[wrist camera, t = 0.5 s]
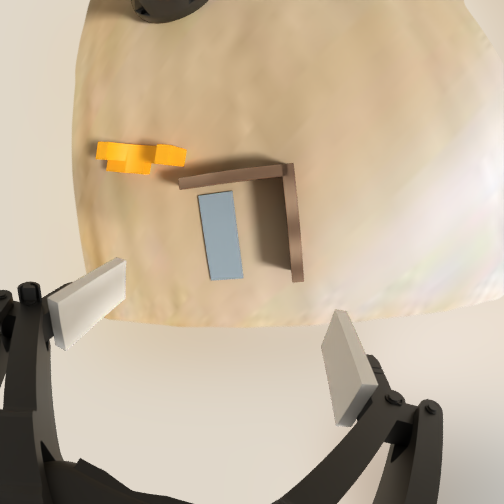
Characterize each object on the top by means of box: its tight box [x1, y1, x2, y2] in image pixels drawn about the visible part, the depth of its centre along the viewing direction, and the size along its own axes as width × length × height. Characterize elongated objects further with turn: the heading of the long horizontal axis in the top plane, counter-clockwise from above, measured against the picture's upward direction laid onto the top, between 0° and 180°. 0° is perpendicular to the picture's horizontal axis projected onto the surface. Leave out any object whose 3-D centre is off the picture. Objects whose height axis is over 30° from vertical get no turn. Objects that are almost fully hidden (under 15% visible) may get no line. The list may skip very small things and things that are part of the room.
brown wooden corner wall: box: [178, 163, 304, 282], centre depth 37 cm, size 15×15×5 cm
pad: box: [198, 191, 243, 280], centre depth 40 cm, size 13×5×1 cm, turn 7°
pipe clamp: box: [96, 142, 187, 174], centre depth 35 cm, size 12×4×6 cm, turn 80°
